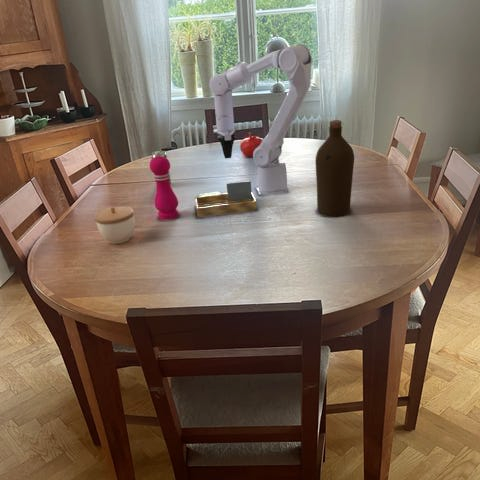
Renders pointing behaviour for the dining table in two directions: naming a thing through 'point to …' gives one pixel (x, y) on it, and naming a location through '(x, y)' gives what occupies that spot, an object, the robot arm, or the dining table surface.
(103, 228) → the trinket box
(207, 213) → the coaster basket
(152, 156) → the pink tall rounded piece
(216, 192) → the sage coaster
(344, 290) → the dining table surface
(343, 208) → the olive oil
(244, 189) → the blue coaster
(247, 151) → the pomegranate
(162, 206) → the pepper mill
